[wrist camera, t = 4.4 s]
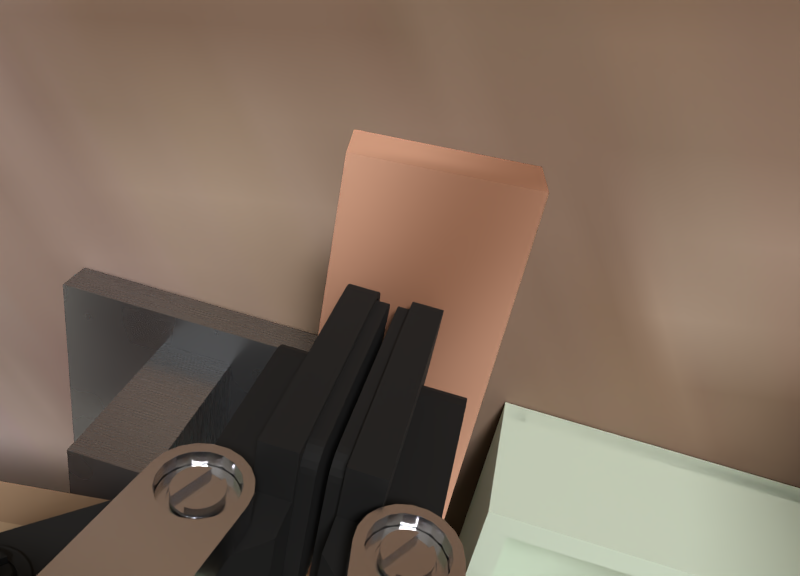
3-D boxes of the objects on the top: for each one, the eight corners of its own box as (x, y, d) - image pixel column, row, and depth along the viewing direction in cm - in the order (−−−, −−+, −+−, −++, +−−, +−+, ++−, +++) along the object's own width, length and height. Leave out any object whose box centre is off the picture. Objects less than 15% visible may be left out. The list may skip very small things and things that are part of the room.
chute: (572, 173, 11) (624, 311, 8) (377, 756, 21) (363, 932, 18) (-478, -38, 11) (-916, 16, 7) (-182, 666, 20) (-310, 831, 17)
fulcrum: (350, 345, 20) (279, 484, 15) (301, 607, 26) (241, 762, 22) (84, 267, 21) (-59, 378, 16) (98, 541, 27) (-2, 677, 22)
